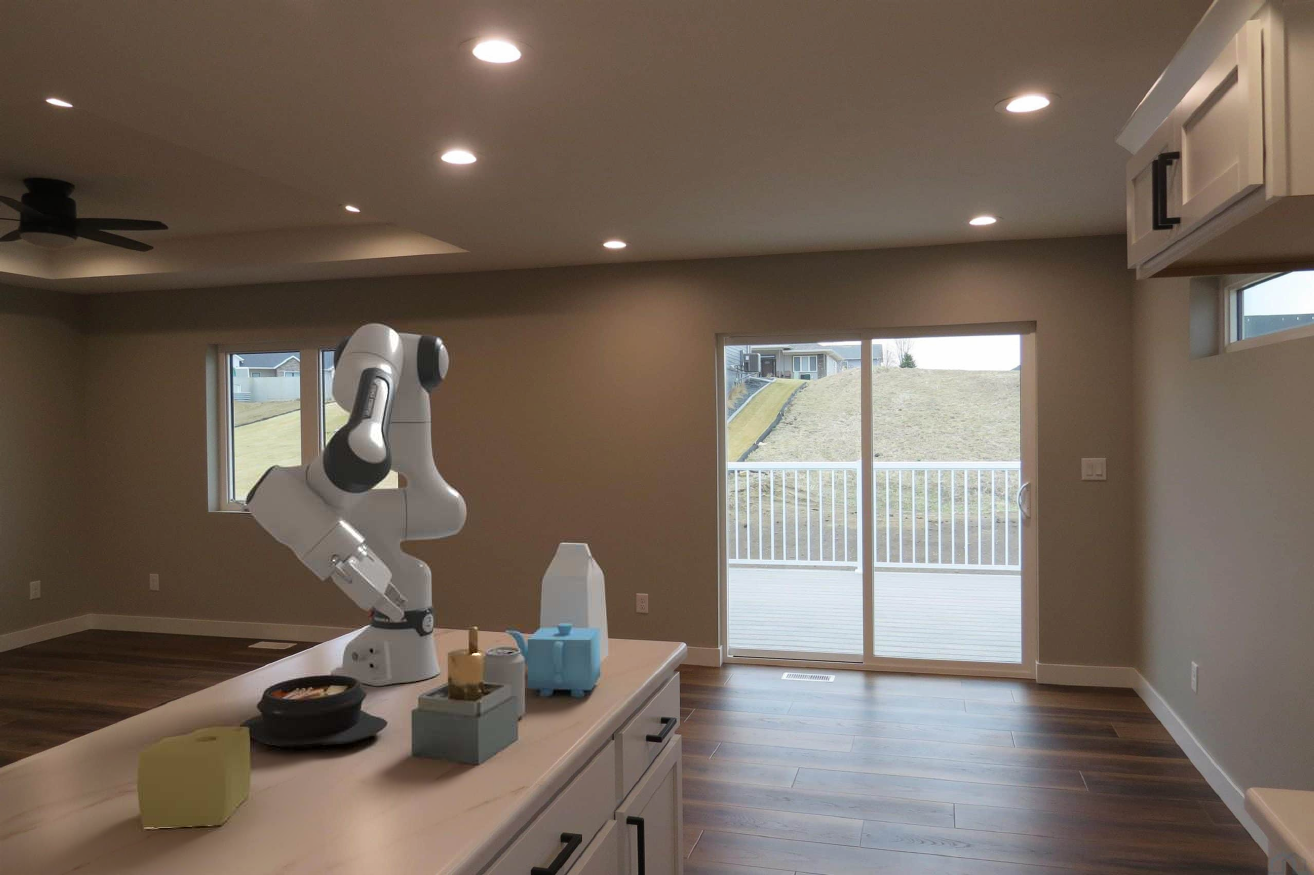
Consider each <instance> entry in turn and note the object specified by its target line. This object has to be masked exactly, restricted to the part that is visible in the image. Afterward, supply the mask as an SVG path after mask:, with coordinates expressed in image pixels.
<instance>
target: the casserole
mask: <svg viewBox="0 0 1314 875" xmlns="http://www.w3.org/2000/svg"><path fill="white" fill-rule="evenodd" d="M366 698H367V692H366V691H365V690H364V689H363V687H362V683H360V682H359V681H358V680H357V679H355V678H352V677H347V676H336V675H331V674H329V675H325V674H324V675H312V676H305V677H297V678H292V679H288V680H284V681H280V682H277V683H275V684H273V685H270V686H269V687H267V688H266V689H265V690H264V691H263V693H262V695H261V700H260V701H258V703H257V704H256V709H258V710H257V711H259V712H260V713H261V714H259V715H256V716H253V717H252V718H249V719H247V720H245V721H244V722H243V723H241V724H240V725H239V726H238V727H248V728H249V736H250V738H251V737H252V739H254V740H256V741H258V742H260V743H263V744H266V745H271V746H278V747H283V748H284V747H286V748H298V749H300V748H302V749H304V748H315V747H321V746H324V745H343V744H345V745H346V744H351V743H355V742H359V741H362V740H365V739H367V738H369V737H372V736H373V735H376V734H378V733H380V731H383V730H384V729H385V728H386V727H387V725H388V721H387V720H386V719H384V718H382V717H379V716H375V715H371V714H370V713H368V712H366V711H364V710H362V705H363V701H364V700H365V699H366Z"/></svg>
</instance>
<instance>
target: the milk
mask: <svg viewBox="0 0 1314 875" xmlns="http://www.w3.org/2000/svg"><path fill="white" fill-rule="evenodd" d="M540 597H541V598H540V620H539V621H540V622H539V625H540V626H539V629H540V628H557V625H558V624H561V623H570V624H572V628H600V662H601V661H603V660H604V659H606V657H607V656H609V657H610V653H609V652H610V651H609V649H610V648H609V633H608V619H607V603H606V586H605V576H604V573H603V570H602V569H601V567H600V566H599V565H598V563H597V561H596V560H595V558H594V557H593V556H592V553H591V550H590V548H589V545H588V543H579V542H578V543H577V542H560V543H559V545H558V547H557V550H556V552H555V556H554V557H553V558H552V561H551V562H550V563H549V566H548V568H547V569H546V571H545V573H544V575H543V578H542V582H541V595H540ZM606 660H607V659H606ZM604 661H605V660H604ZM604 661H603V662H604ZM601 663H602V662H601Z"/></svg>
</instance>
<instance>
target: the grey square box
mask: <svg viewBox="0 0 1314 875" xmlns="http://www.w3.org/2000/svg"><path fill="white" fill-rule="evenodd" d="M417 700H418V701H417V707H416V708H414V709H412V710H411V711H410V712H411V756H413V757H420V758H428V759H435V760H442V761H447V762H448V761H449V762H456V763H463V764H469V765H477V766H479V765H481V764H482V763H483V762H485V761H487V760H488V759H490V758H491V757H493V756H494V755H496V754H497V753H499V752H500V751H501V752H502V751H503V749H505V748H506V747H508V746H510V745H512V744H513V743H514V742H516V741H517V740H519V719H518V696H511V684H502V683H493V682H484V697H483V698H481V699H479V700H477V701H466V700H457V699H448V682H446V683H443V684H442V685H441V684H440V685H439V686H436V687H434V688H433V689H431V690H428V691H426V692H424V693H422V694H420V695H419V696H418V697H417Z"/></svg>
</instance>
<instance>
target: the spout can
mask: <svg viewBox="0 0 1314 875" xmlns="http://www.w3.org/2000/svg"><path fill="white" fill-rule="evenodd" d="M478 632H479V628H478V626H469V627H468V648H461V649H455V650H451V651H448V653H447V683H448V699H457V700H466V701H477V700H479V699H481V698H483V697H484V656H485V655H484V651H483V650H481V649H479V648H478V645H479V644H478V643H479V641H478V638H479V633H478Z"/></svg>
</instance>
